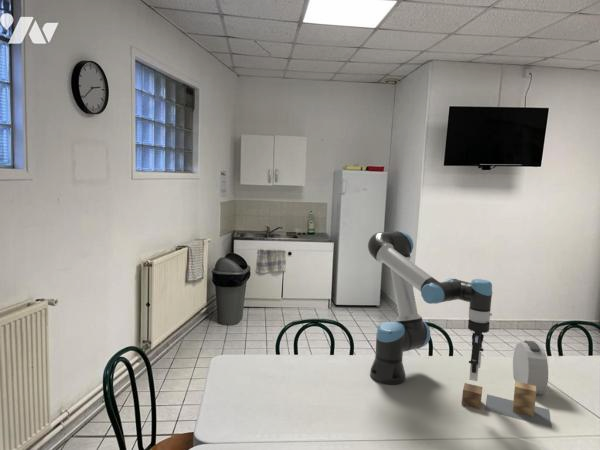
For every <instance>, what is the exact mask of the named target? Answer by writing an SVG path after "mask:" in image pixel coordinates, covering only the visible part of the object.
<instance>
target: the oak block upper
mask: <svg viewBox="0 0 600 450" xmlns="http://www.w3.org/2000/svg"><path fill="white" fill-rule="evenodd" d="M514 381H515V380H514ZM513 392H514V393H513V400H514V399H515V400H519V401H524V402H528V403H532V404H535V405H536V398H537V394H536V386H534V385H529V384H525V383H521V382H516V381H515V383H514V390H513Z"/></svg>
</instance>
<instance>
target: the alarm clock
mask: <svg viewBox="0 0 600 450" xmlns="http://www.w3.org/2000/svg"><path fill="white" fill-rule="evenodd" d="M548 363H549V362H548V359H547V354H546V352H545V349H544V348H543V346H542V344H539V343H537V342H536V341H533V340H524V342H523V341H520V342H517V343H516V344H515V347H514V351H513V357H512V374H513V379H514V381H516V382H521V383H525V384H529V385H534V386H536V395H539V396H540V395H541V396H543V395H544V394H545V393H546V390H547V388H548V383H549V364H548Z"/></svg>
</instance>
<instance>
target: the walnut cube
mask: <svg viewBox="0 0 600 450" xmlns="http://www.w3.org/2000/svg"><path fill="white" fill-rule="evenodd" d="M482 394H483V386H480V385H476V384H472V383H467V382H464V385H463V388H462V397H461V406H463V407H469V408H470V407H471V408H474V409H477V410H478V409H479V410H481V405H482V396H483V395H482Z"/></svg>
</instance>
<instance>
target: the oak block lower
mask: <svg viewBox="0 0 600 450" xmlns="http://www.w3.org/2000/svg"><path fill="white" fill-rule="evenodd" d="M512 401H513V412H516V413H520V414H524V415H528V416H532V417H534V409H535V406H536V403H535V404H532V403H528V402H524V401H519V400H515V399H514V398H513V400H512Z"/></svg>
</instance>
